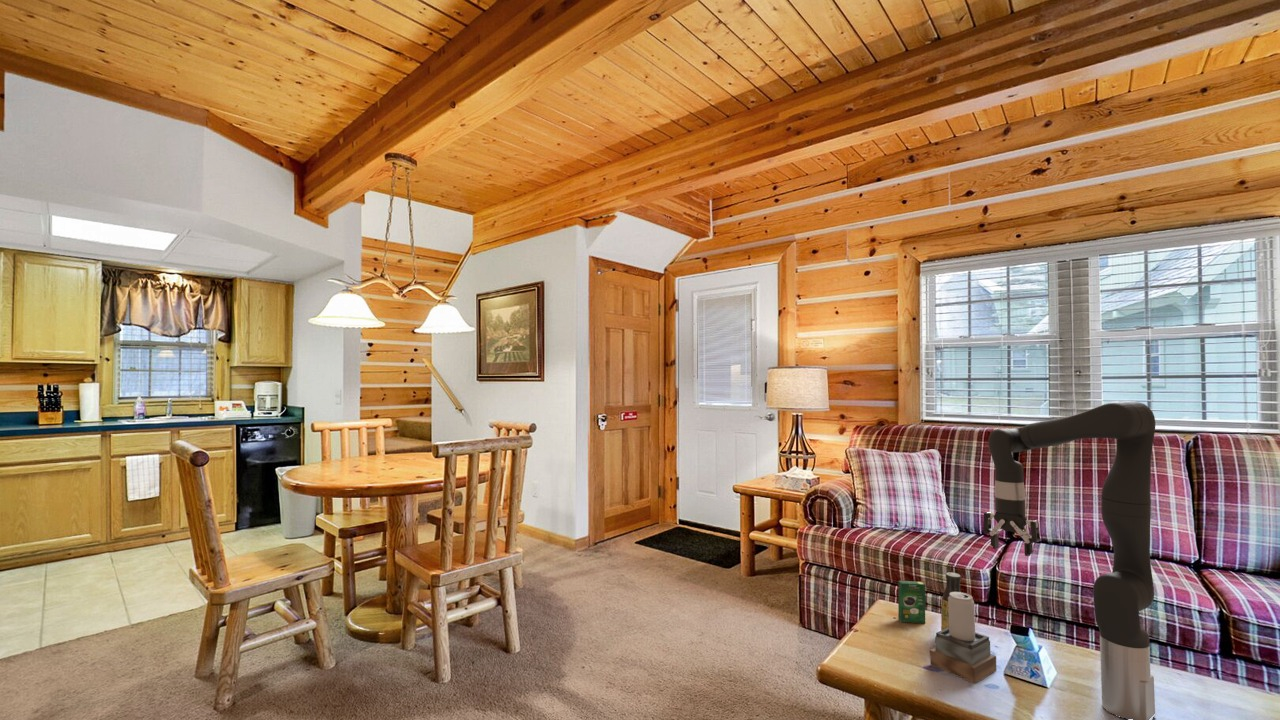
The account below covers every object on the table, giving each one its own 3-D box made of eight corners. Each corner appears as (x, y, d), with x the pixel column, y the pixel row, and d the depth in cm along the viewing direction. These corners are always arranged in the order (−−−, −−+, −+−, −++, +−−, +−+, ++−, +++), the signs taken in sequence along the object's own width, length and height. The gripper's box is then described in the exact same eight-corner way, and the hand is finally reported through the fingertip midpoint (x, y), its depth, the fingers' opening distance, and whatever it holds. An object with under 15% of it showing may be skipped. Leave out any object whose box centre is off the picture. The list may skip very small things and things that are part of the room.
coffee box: (922, 620, 189) (922, 580, 190) (926, 623, 186) (925, 583, 187) (898, 619, 190) (897, 579, 190) (901, 623, 187) (900, 583, 187)
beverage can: (979, 644, 154) (977, 600, 155) (953, 642, 156) (952, 598, 156) (970, 634, 161) (969, 591, 161) (945, 632, 162) (944, 590, 162)
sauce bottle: (936, 635, 178) (935, 571, 179) (952, 632, 180) (950, 569, 181) (954, 644, 172) (952, 578, 173) (969, 641, 174) (968, 576, 174)
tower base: (996, 670, 156) (995, 637, 156) (974, 683, 150) (973, 649, 150) (952, 653, 166) (951, 622, 166) (930, 664, 160) (929, 632, 160)
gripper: (1043, 499, 162) (1044, 556, 161) (990, 491, 174) (991, 544, 173) (1031, 502, 158) (1033, 560, 157) (978, 493, 170) (979, 548, 169)
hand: (1011, 552), depth 165 cm, fingers open, 8 cm apart
